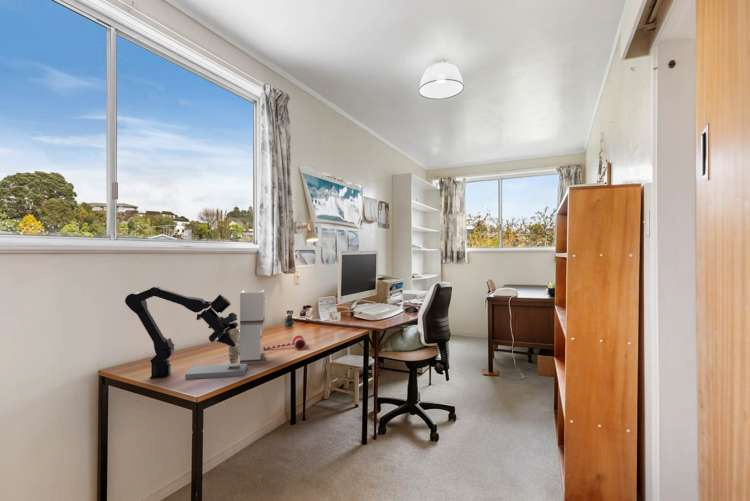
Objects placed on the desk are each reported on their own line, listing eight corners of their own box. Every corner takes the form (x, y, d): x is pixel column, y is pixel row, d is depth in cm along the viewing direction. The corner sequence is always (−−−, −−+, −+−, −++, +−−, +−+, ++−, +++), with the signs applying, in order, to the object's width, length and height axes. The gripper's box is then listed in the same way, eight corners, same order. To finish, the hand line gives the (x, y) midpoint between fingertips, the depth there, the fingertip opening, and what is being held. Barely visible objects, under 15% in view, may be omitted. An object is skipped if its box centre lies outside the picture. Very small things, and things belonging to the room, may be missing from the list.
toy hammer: (263, 353, 200) (263, 341, 200) (263, 348, 212) (263, 337, 212) (306, 350, 208) (306, 338, 208) (303, 345, 219) (303, 334, 219)
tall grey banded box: (262, 363, 182) (262, 292, 182) (239, 364, 180) (240, 292, 180) (264, 356, 193) (264, 289, 193) (243, 358, 191) (243, 290, 191)
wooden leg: (228, 364, 166) (228, 330, 166) (229, 361, 170) (230, 328, 170) (237, 363, 167) (238, 330, 167) (239, 361, 171) (239, 328, 171)
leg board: (185, 379, 159) (185, 374, 159) (192, 370, 170) (192, 366, 170) (243, 375, 164) (243, 370, 164) (247, 367, 175) (247, 363, 175)
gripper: (215, 311, 159) (240, 337, 159) (234, 305, 178) (256, 328, 177) (197, 329, 160) (222, 355, 159) (218, 321, 178) (240, 344, 178)
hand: (236, 344), depth 168 cm, fingers closed on wooden leg, 4 cm apart
